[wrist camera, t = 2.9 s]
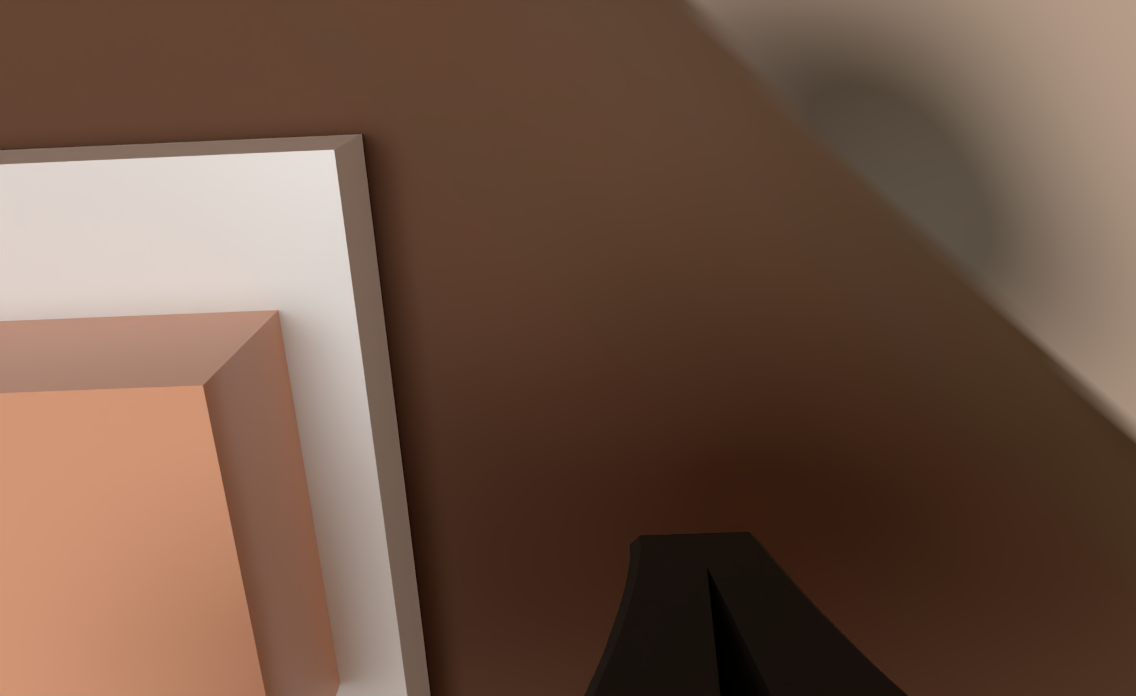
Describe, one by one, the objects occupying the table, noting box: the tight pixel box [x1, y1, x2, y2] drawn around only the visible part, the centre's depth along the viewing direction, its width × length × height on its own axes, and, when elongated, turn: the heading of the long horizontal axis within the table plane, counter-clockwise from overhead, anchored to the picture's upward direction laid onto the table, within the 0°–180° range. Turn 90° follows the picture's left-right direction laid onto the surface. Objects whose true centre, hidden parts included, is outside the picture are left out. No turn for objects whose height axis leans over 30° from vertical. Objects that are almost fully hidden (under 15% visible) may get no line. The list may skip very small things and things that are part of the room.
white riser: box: [0, 134, 431, 696], centre depth 13 cm, size 10×10×2 cm
